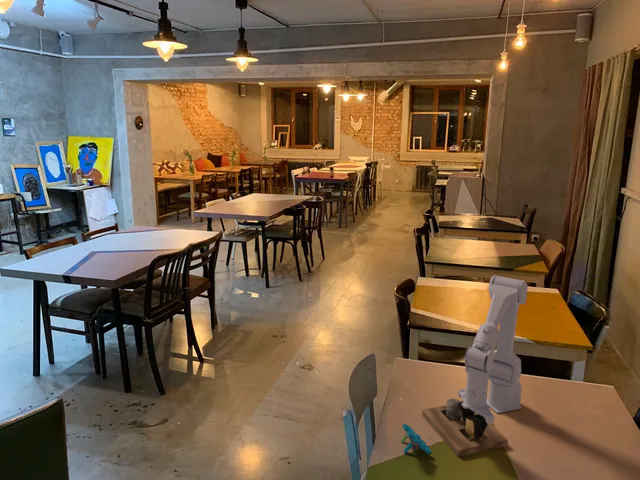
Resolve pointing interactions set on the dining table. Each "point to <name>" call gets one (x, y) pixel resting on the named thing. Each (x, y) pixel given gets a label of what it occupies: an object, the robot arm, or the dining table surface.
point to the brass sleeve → (470, 430)
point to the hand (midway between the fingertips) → (473, 431)
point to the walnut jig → (461, 430)
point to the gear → (414, 439)
